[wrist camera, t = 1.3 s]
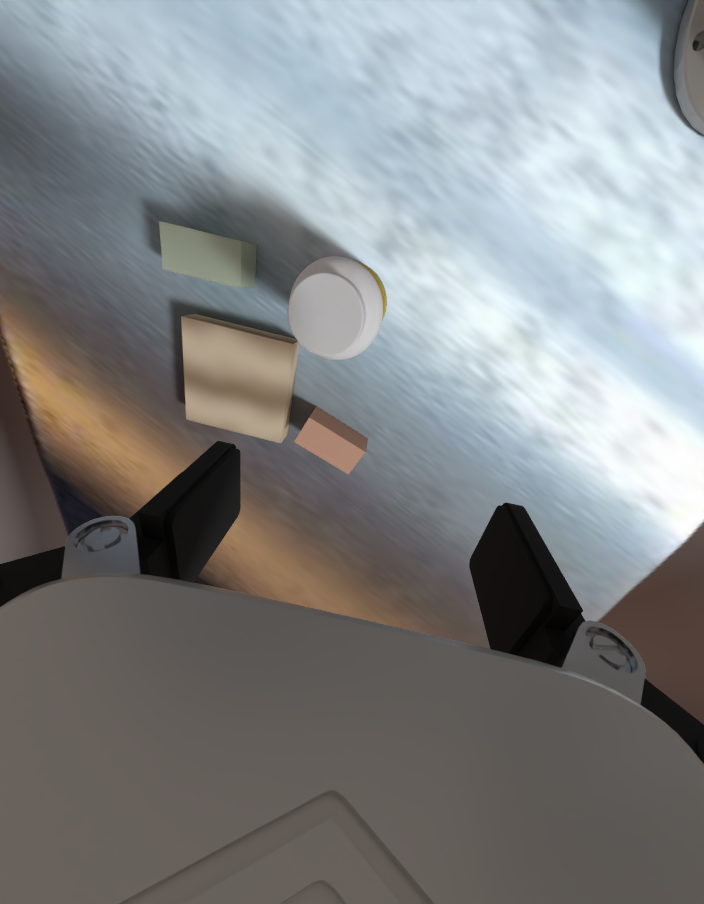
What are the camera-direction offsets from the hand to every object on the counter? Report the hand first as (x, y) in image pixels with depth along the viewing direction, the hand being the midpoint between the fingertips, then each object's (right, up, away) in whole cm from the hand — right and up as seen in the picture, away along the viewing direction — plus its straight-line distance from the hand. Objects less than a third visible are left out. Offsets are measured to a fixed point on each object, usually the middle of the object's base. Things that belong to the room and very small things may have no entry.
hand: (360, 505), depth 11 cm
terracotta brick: (-2, +4, +26) cm, 26 cm away
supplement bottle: (0, +16, +19) cm, 25 cm away
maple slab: (-12, +10, +24) cm, 28 cm away
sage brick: (-13, +20, +18) cm, 30 cm away
